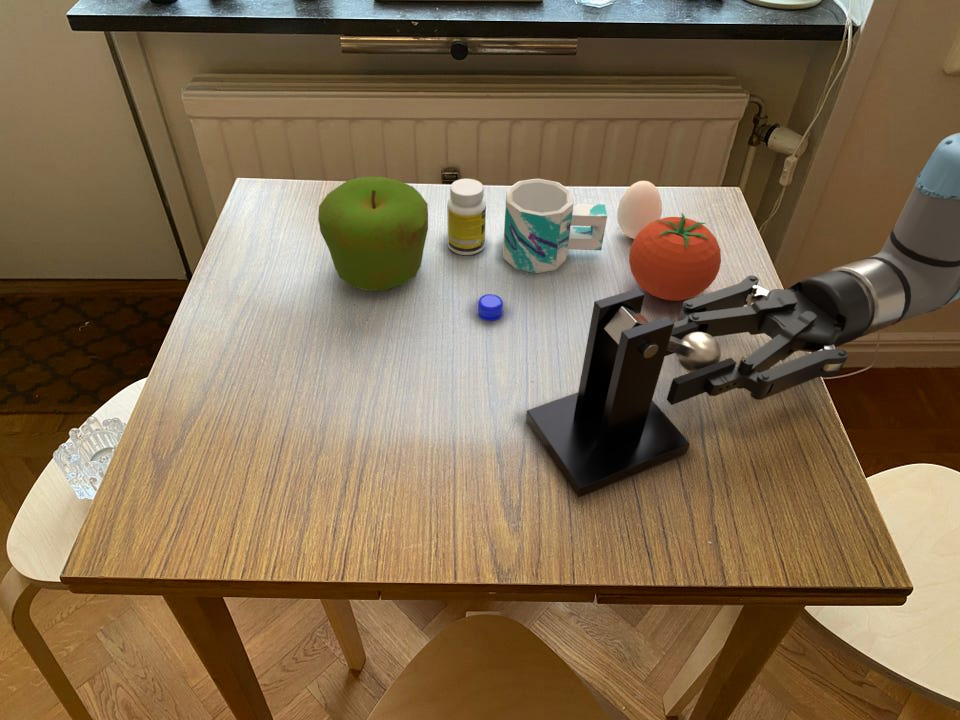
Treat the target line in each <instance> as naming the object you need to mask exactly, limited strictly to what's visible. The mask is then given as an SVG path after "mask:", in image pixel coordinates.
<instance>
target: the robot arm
mask: <svg viewBox="0 0 960 720" xmlns="http://www.w3.org/2000/svg"><path fill="white" fill-rule="evenodd" d="M759 281H760V279H759V278H758V277H757V276H756V275H752V274H750V275H747V276H746V277H745V278H744V279H743V280H741V281H740V282H738V283H736V284H733V285H730V286H727V287H724V288H721V289H718V290H715V291H712V292H708V293H705V294H702V295H699V296H695V297H692V298H689V299H686V300H685V301H684V300H683V303H682V305H681V309H680V312H679V316H678V319H677V321H675V322H673V323H674V327H673V330H672V333H671V336H673V337H675V338H678V339H682V338H683V337H685V336H686V335H688V334H690V333H693V332H703V333H707V334H709V335H711V336H712V337H713V338H714V337H715V338H716V337H721V336H728V335H736V334H745V333H748V334H749V335H750V336H755V335H762V334H764V335H766V336H768V337H770V340H768V342H766V343H765V344H763V345H762V346H761V347H759V348H757V349H756V350H755V351H754V352H752V353H751V354H749V355H748V356H747V357H745V358H744V356H742V357H741V358H740V361H739V363H738V366H736V365H737V362H736V361H735V360H734V358H732V357H728V358H726V359H723V360H721V361H719V362H718V363H715V364H712V365H709V366H707V367H704V368H701V369H698V370H696V371H693V372H690V373H688V372H687V373H685V374H681V375H680V376H676V377H674V378H672V381H671V384H670V386H669V390H668V393H667V398H666V401H667V402H668V403H669V404H670V405H671V406H673V405H676V404H679V403H681V402H684V401H686V400H689V399H692V398H695V397H697V396H699V395H702V394H705V393H706V394H707V395H708V396H709V397H716V396H720V395H722V394H724V393H727V392H730V391H732V390H735V389H738V390H743V389H744V390H746V391H748V392H749V393H750V397H751V398H753V399H754V400H757V401H762V400H765V399H766V398H769V397H771V396H774V395H777V394H779V393H782V392H784V391H787V390H789V389H792V388H794V387H796V386H799V385H802V384H804V383H806V382H810V381H812V380H815V379H817V378H827V377H828V378H829V377H837V376H838V375H839V374H840V372H841V371H842V368H843V367H844V365H845V363H846V360H847V359H848V357H849V352H848V351H846V350H844V349H842V348H837V347H839V346H842V345H846V344H848V343H850V342H853V341H855V340H857V339H860V338H862V337H865V336H867V335H871V334H873V333H875V332H878V331H881V330H884V329H886V328H889V327H891V326H893V325H896V324H897V323H900V322H903V321H905V320H909V319H912V318H914V317H918V316H920V315H923V314H928V313H932V312H936V311H937V310H939V309H942V308H943V307H944V306H948V305H949V304H950V303H952V302H953V301H956V300H958V299H960V132H957V133H953V134H950V135H948V136H947V137H945V138H943V139H942V140H941V141H940V142H939V143H938V145H937V146H936V147H935V149H934V151H933V152H932V153H931V154H930V157H929V158H928V160H927V162H926V163H925V165H924V167H923V169H922V170H921V171H920V173H919V174H918V175H917V176H916V179H915V183H914V186H913V188H912V190H911V192H910V194H909V196H908V198H907V200H906V202H905V203H904V206H903V208H902V211H901V212H900V214H899V217H898V218H897V220H896V223H895V224H894V226H893V228H892V230H891V231H890V233H889V234H888V236H887V238H886V240H885V242H884V244H883V246H882V248H881V250H880V251H879V252H878V253H876V254H874V255H871V256H869V257H865V258H863V259H859V260H857V261H853V262H849V263H847V264H844V265H841V266H838V267H834V268H831V269H829V270H825V271H824V272H820V273H818V274H814V275H811V276H808V277H805V278H802V279H801V280H798V281H797V282H795V283H794V284H792V285H791V286H789V287H788V288H784V289H783V288H781V289H780V288H774V289H772V290H768V289H766V288H764V287H762V286H760V285H758V283H759ZM798 351H799V352H807V354H805V355H802V356H800V357H797V358H795V359H792V360H789V361H787V362H784V363H782V364H779V365H776V364H778V363H779V362H780V361H782V362H783V361H785V360H786V359H787V358H789V357H790V356H792V355H793V354H794V353H796V352H798ZM673 354H675V353H674V352H671V351H668V350H667V351H666V354H665V357H668V356H670V355H673ZM775 365H776V366H775Z"/></svg>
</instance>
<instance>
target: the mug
mask: <svg viewBox="0 0 960 720" xmlns="http://www.w3.org/2000/svg"><path fill="white" fill-rule="evenodd" d="M607 219H608V214H607V209H606V204H599V203H595V204H594V203H574V194H573V191H572V190H571V189H569V188H568V187H566V186H564V185H563V184H561V183H560V182H558V181H553V180H549V179H542V178H532V179H524V180H519V181H517V182H515V183H514V184H513V185H511V186H510V187H508V188H507V189H506V192H505V209H504V224H503V228H504V229H503V241H502V243H503V244H502V254H503V255H502V256H503V258H502V259H503V260H504V261H506V262H507V264H509V265H510V266H511V267H513V269H515V270H517V271H518V270H519V271H523V272H527V273H533V274H540V273H546V272H553V271H556V270H557V269H559V267H560V266H562V264H564V263H565V262H566V261H567V255H568V250H570V251H573V250H574V251H602V248H603V242H604V237H605V233H606V232H605V231H606V227H607V221H608V220H607Z"/></svg>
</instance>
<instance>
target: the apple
mask: <svg viewBox="0 0 960 720" xmlns="http://www.w3.org/2000/svg"><path fill="white" fill-rule="evenodd" d="M428 205H429V204H428V202H427V201H426V200H425V199H424V197H423V195H422V194H421V193H420V192H419V191H418V190H417V188H415V187H414V186H412V185H410V184H408V183H405V182H404V181H401V180H399V179H393V178H389V177H384V176H362V177H357V178H352V179H347V180H346V181H344V182H343V183H342V184H340V185H339V186H337V187H336V188H334V189H333V190H331V191H330V192H328V193H327V194H326V195H325V197H324V198H323V200H322V201H321V203H320V204H319V205H318V215H317V216H318V217H317V219H318V220H317V221H318V225H319V231H320V234H321V236H322V238H323V240H324V242H325V244H326V246H327V249H328V250H329V254H330V257H331V260H332V263H333V266H334V269H335V271H336V273H337V275H338V277H339V278H340V279H341V280H342V281H343V282H345V283H346V284H347V285H348V286H350V287H353V288H357V289H360V290H364V291H387V290H389V289H393V288H396V287H399V286H402V285H403V284H405V283H407V282H409V281H411V280H412V279H414V278H415V277H416V276H417V274H418V272H419V270H420V269H421V267H422V262H423V261H422V260H423V255H424V250H425V245H426V240H427V235H428V230H429V206H428Z"/></svg>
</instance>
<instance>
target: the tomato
mask: <svg viewBox="0 0 960 720" xmlns="http://www.w3.org/2000/svg"><path fill="white" fill-rule="evenodd" d="M705 224H706V222H700V221H696V220H695V219H692V218H691V219H690V218H687V217H686V216H685V215H684V213H683V212H681V216H666V217H661V218H660V219H659V220H655V221H654V222H651V223H649V224H648V225H646V226H645V227H644V228H643V229H642V230H641V231H640V232H639V233H638V234H637V236H636V237H635V239H633V241H632V242H631V246H630V249H629V256H628V257H629V259H628V262H629V267H630V268H629V269H630V272H631V274H632V276H633V278H634V280H635V282H636V283H637V284H638V285H639V287H641V288H642V290H644V291H645V292H646V293H648V294H650V295H651V296H652V297H655V298H658V299H662V300H664V301H675V302H676V301H677V302H678V301H684V300H689V299H693V298H695V297H698V295H699V296H700V294H702V293H703V292H705V291H706V290H707V289H708V288H709V287H710V286H711V285H712V284H713V283H714V281H715V280H716V278H717V276H718V274H719V271H720V269H721V264H722V253H721V248H720V245H719V242H718V240H717V237H716V236H715V235H714V233H712V231H711V230H710V229H709V228H707V226H705Z"/></svg>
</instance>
